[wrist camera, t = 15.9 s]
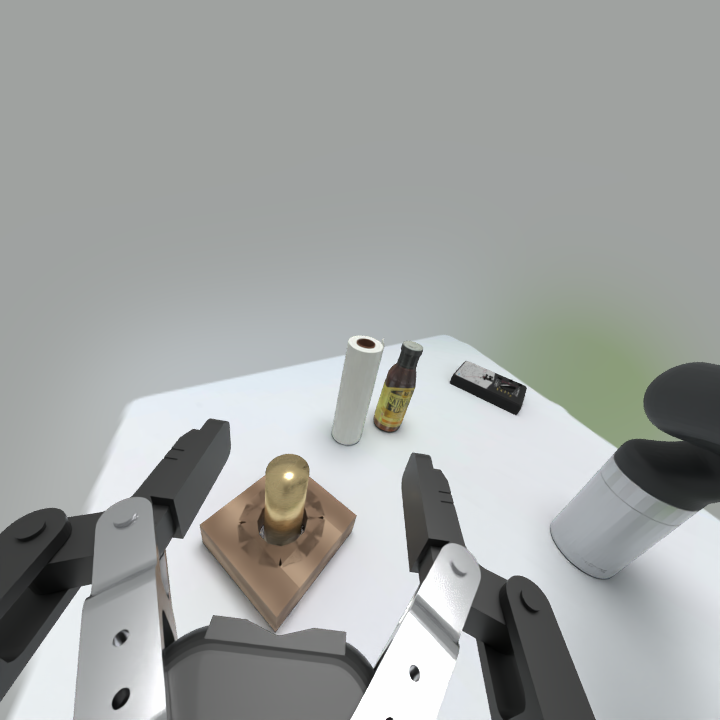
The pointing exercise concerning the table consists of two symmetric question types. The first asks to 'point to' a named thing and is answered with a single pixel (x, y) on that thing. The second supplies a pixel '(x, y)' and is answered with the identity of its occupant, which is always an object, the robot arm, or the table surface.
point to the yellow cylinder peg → (285, 498)
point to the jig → (276, 548)
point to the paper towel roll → (356, 388)
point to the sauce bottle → (398, 388)
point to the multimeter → (490, 386)
